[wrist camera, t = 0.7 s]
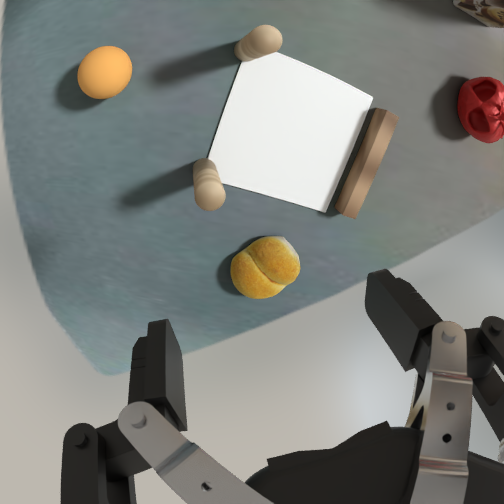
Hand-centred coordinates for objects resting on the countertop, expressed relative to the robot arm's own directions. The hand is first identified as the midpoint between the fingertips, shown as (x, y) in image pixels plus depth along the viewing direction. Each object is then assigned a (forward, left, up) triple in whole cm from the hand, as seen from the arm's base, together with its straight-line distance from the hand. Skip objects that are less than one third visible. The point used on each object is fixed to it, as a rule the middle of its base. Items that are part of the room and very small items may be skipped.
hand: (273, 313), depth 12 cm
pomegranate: (-21, +32, -26) cm, 47 cm away
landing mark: (-5, +7, -26) cm, 27 cm away
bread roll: (+12, +10, -26) cm, 31 cm away
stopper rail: (-5, +17, -26) cm, 31 cm away
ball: (-6, -14, -23) cm, 28 cm away
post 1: (+2, -1, -26) cm, 26 cm away
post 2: (-12, -1, -26) cm, 29 cm away
